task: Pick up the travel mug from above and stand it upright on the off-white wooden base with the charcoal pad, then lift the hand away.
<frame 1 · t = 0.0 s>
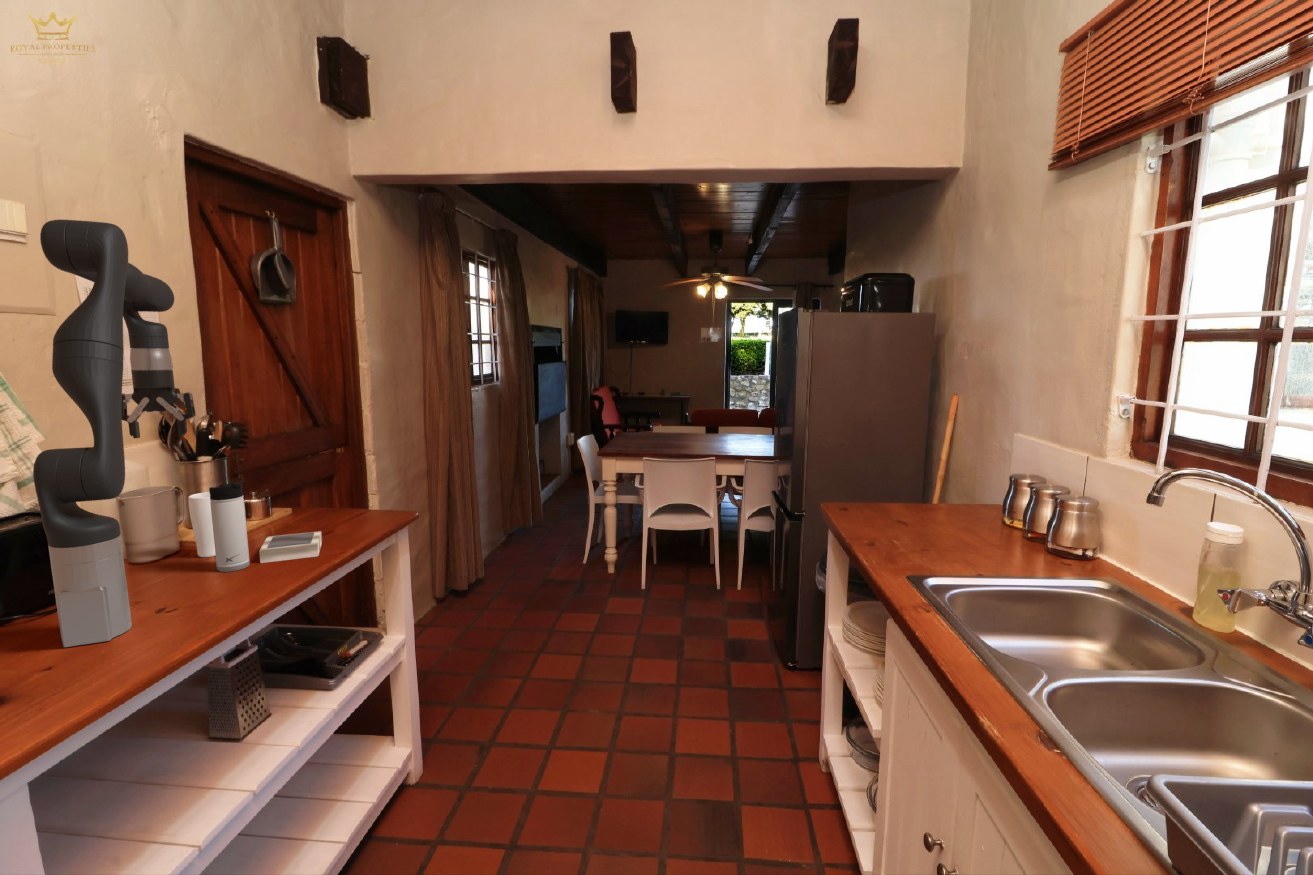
hand: (159, 437, 145), 29 cm above the counter, tool pointing down, fingers open, 8 cm apart
travel mug: (234, 568, 142), on the counter
white tall cylinder: (211, 555, 150), on the counter
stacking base: (292, 552, 152), on the counter
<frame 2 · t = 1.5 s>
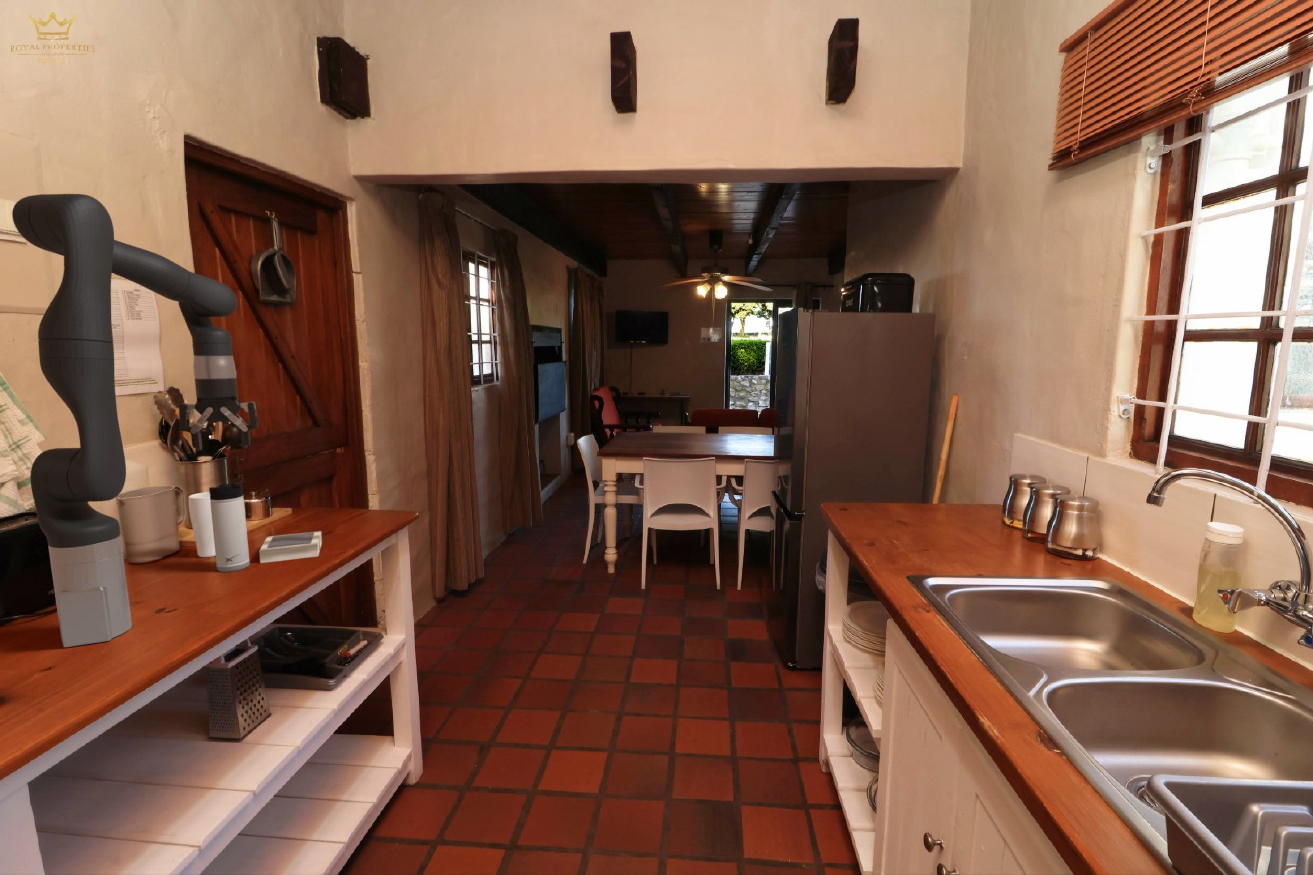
hand: (222, 448, 138), 28 cm above the counter, tool pointing down, fingers open, 8 cm apart
nothing on the counter moved.
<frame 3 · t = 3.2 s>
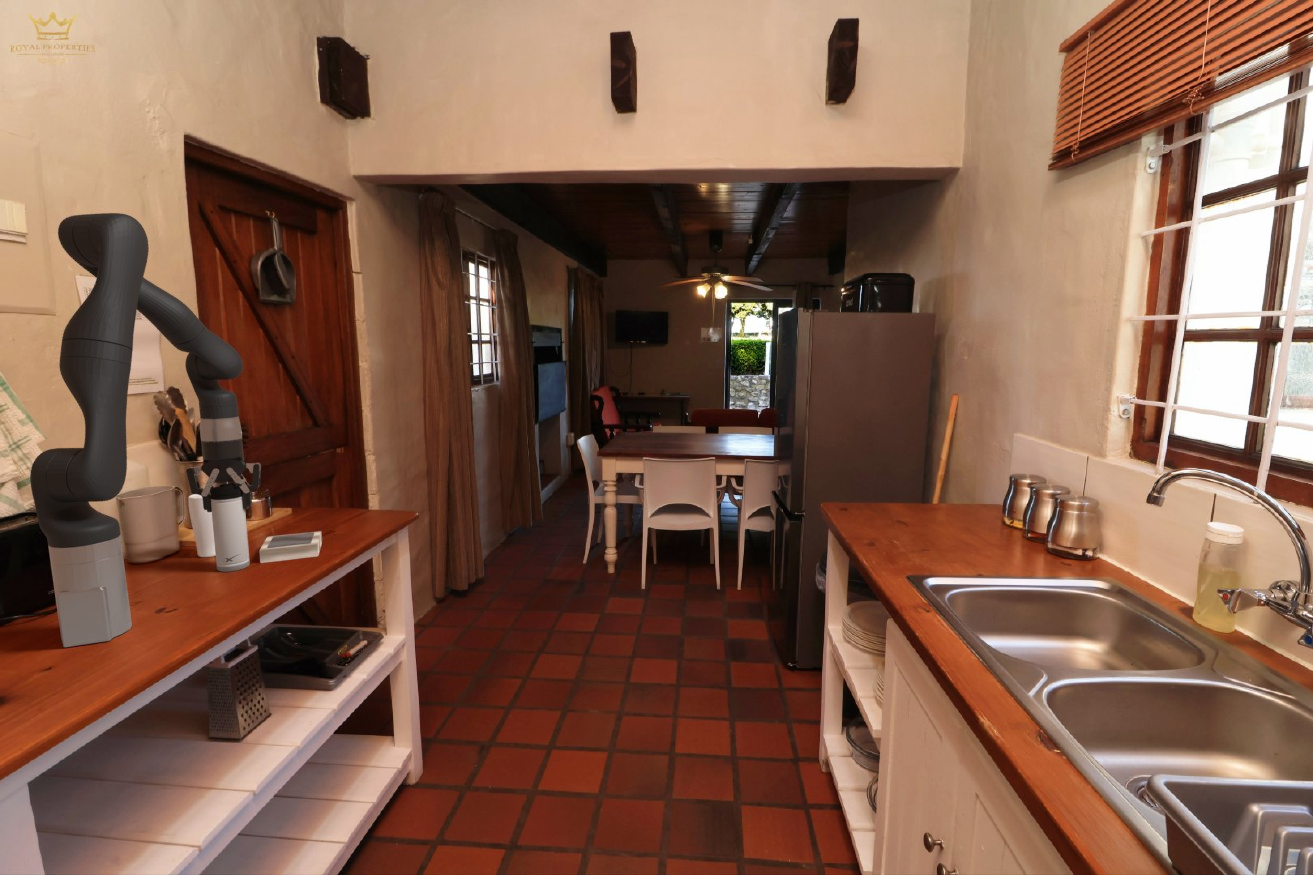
hand: (228, 509, 140), 14 cm above the counter, tool pointing down, fingers closed on travel mug, 6 cm apart
travel mug: (234, 568, 142), on the counter, touching gripper
everything else where it was.
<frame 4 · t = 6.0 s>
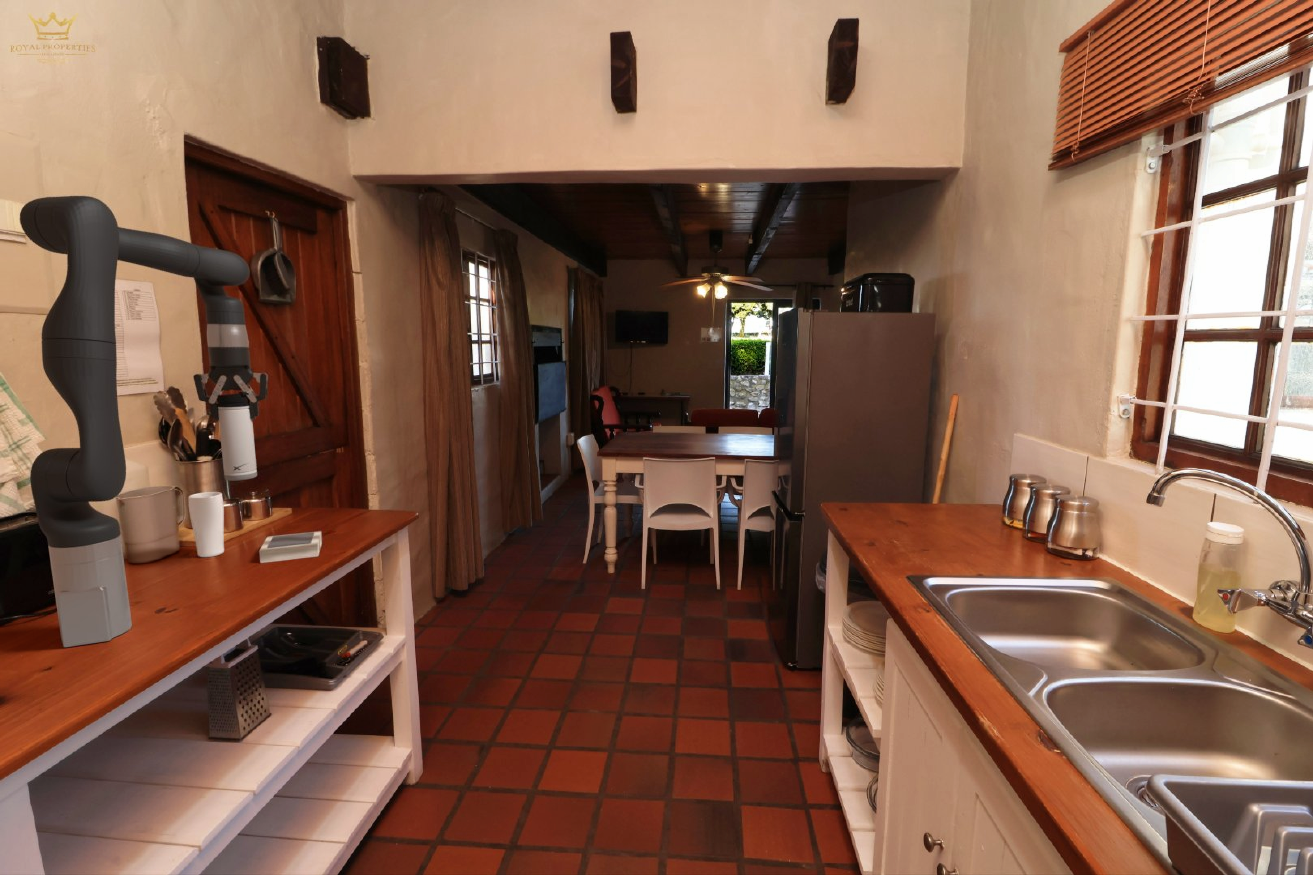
hand: (235, 419, 140), 34 cm above the counter, tool pointing down, fingers closed on travel mug, 6 cm apart
travel mug: (241, 478, 142), point 20 cm above the counter, touching gripper
everything else where it was.
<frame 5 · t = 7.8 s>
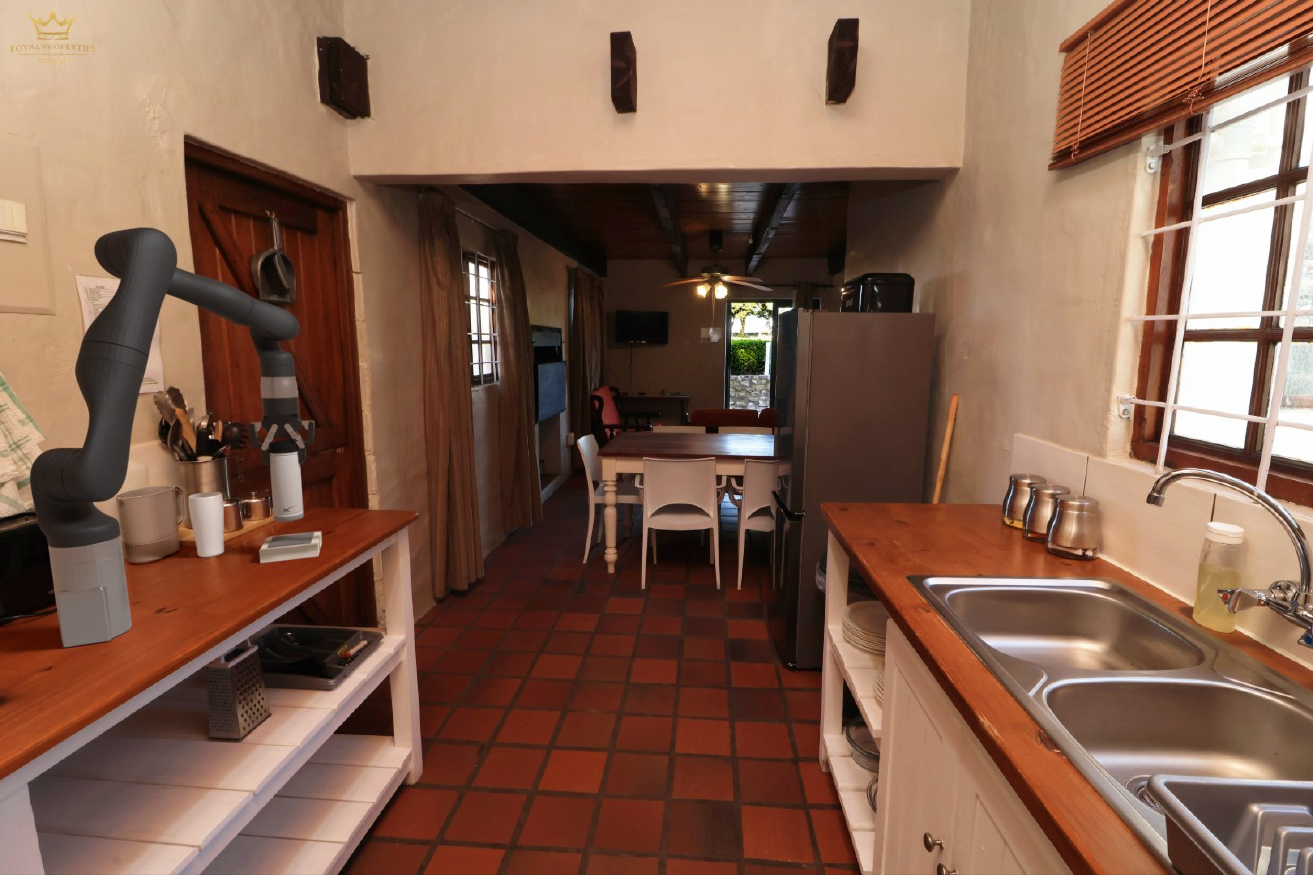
hand: (285, 463, 149), 22 cm above the counter, tool pointing down, fingers closed on travel mug, 6 cm apart
travel mug: (289, 519, 151), point 8 cm above the counter, touching gripper
everything else where it was.
when the fingers open (18 cm above the counter, at t = 9.2 s): travel mug drops 1 cm, resting on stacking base.
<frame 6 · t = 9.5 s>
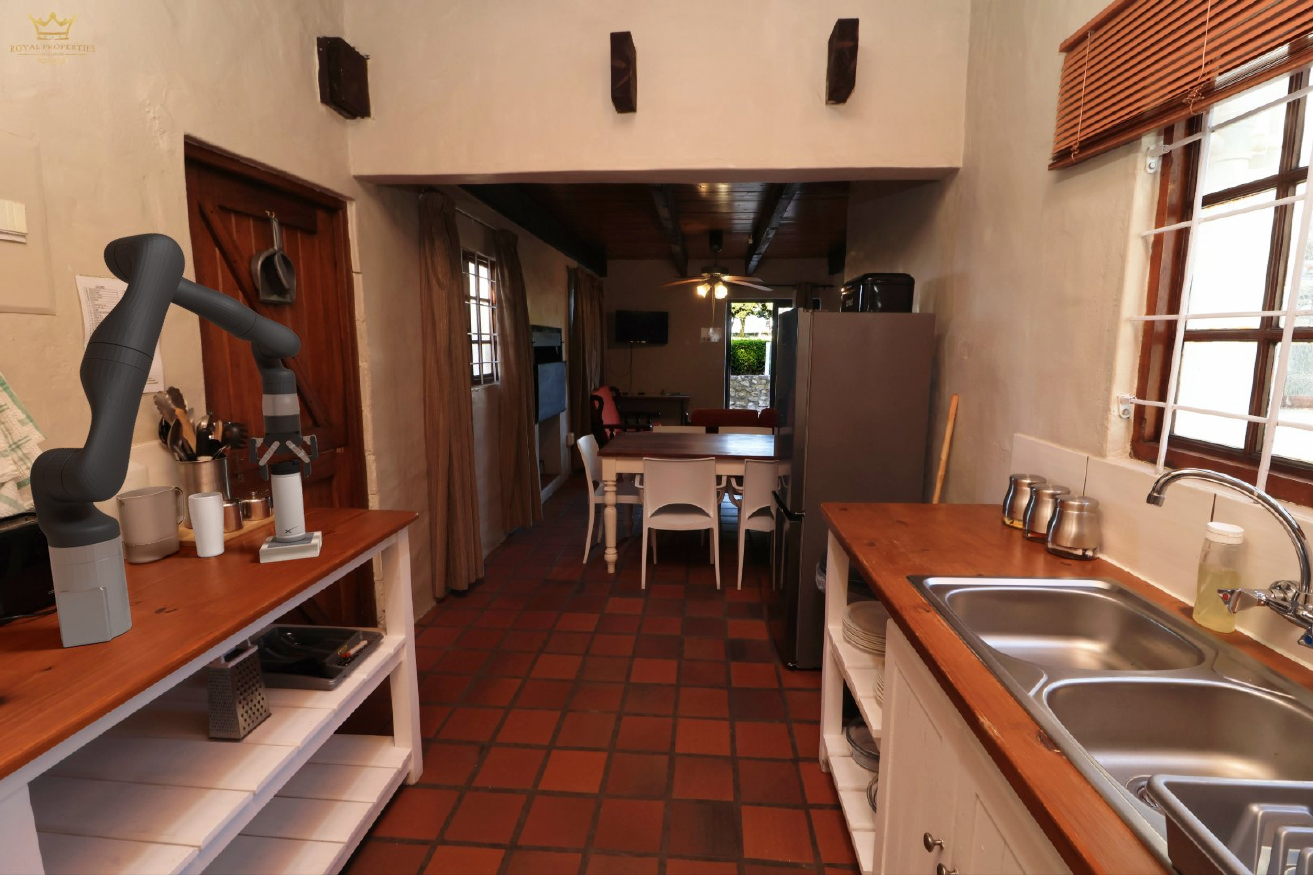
hand: (286, 478, 150), 19 cm above the counter, tool pointing down, fingers open, 8 cm apart
travel mug: (291, 539, 152), point 3 cm above the counter, touching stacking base
everything else where it was.
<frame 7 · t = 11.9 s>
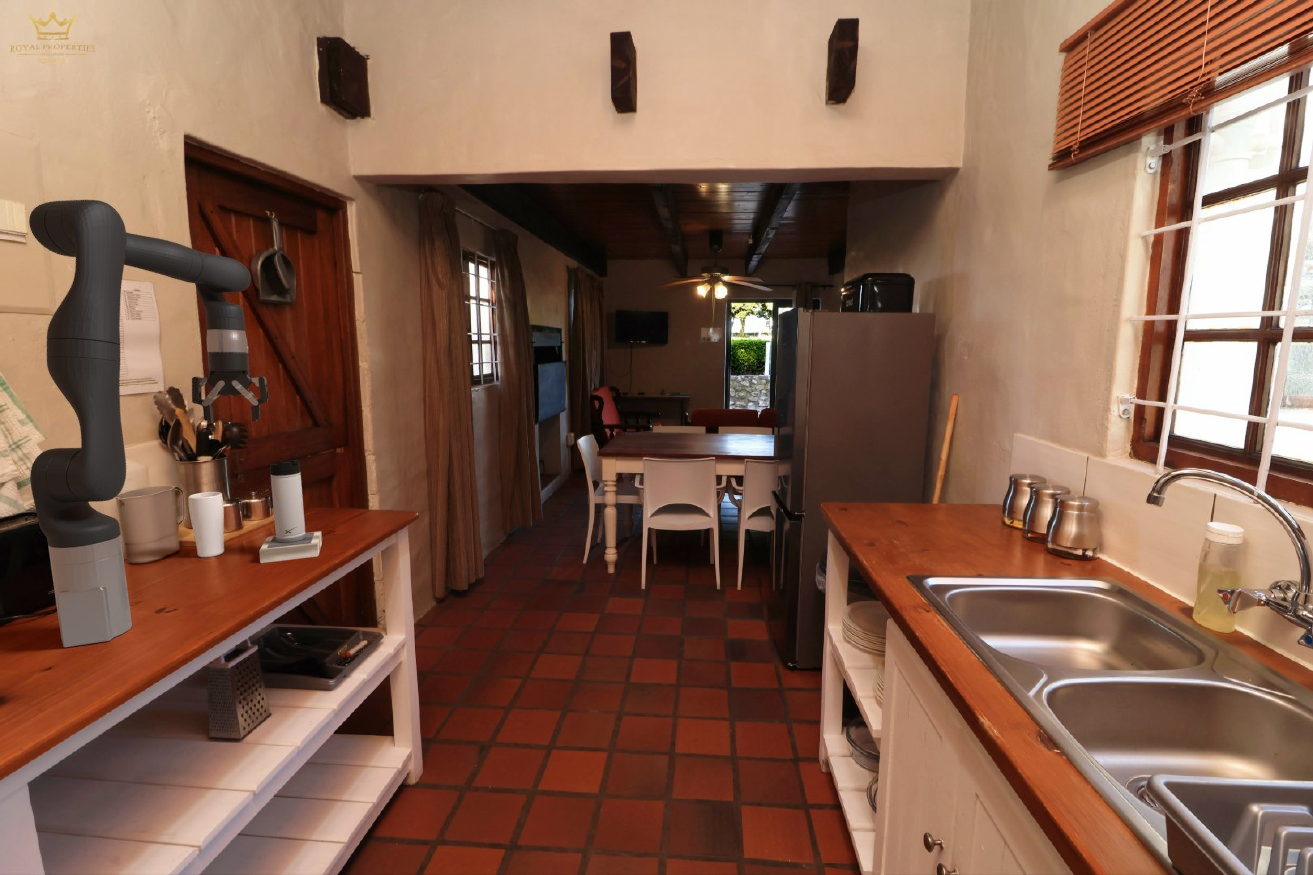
hand: (233, 422, 140), 33 cm above the counter, tool pointing down, fingers open, 8 cm apart
nothing on the counter moved.
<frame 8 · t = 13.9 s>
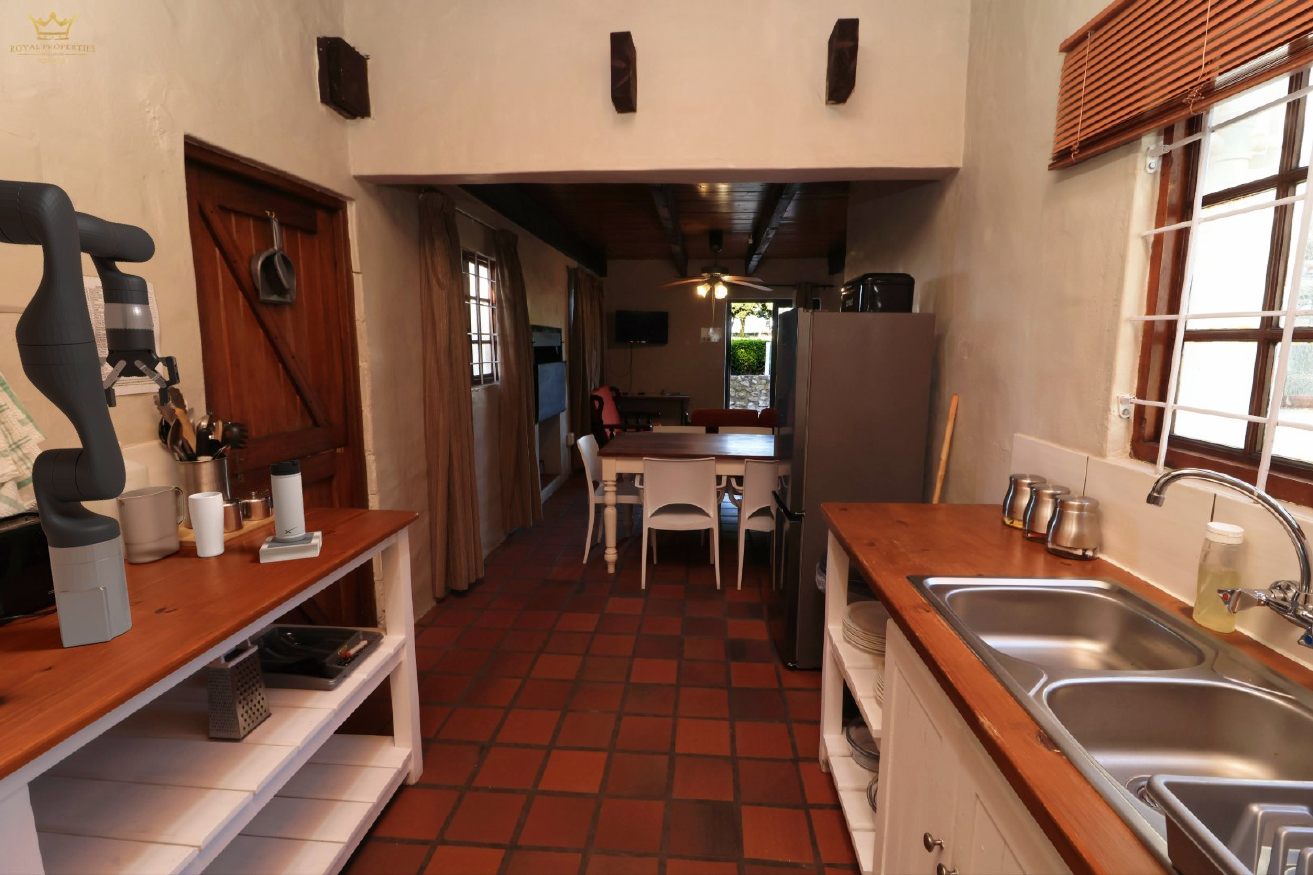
hand: (138, 406, 127), 38 cm above the counter, tool pointing down, fingers open, 8 cm apart
nothing on the counter moved.
at the end: travel mug inside the target area on the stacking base (0.1 cm from its centre), point 3.1 cm above the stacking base's base; travel mug tilted 0°; the gripper is holding nothing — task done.
